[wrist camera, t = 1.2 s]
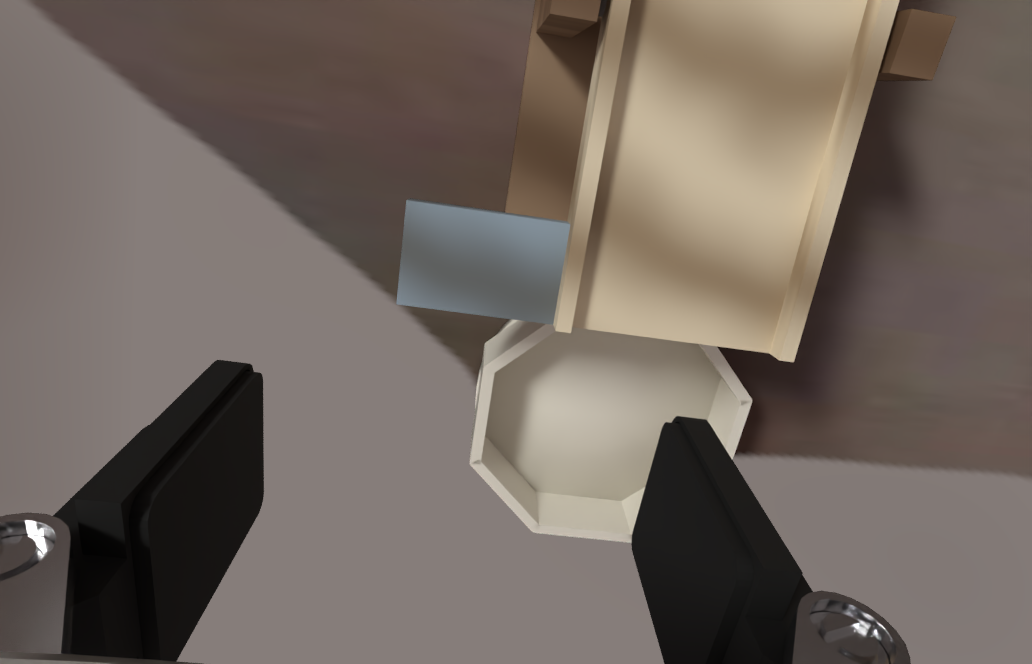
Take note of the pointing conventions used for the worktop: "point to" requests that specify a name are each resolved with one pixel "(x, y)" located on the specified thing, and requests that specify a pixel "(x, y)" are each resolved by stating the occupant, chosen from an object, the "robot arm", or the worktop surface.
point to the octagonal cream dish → (590, 420)
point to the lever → (679, 180)
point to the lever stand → (566, 83)
